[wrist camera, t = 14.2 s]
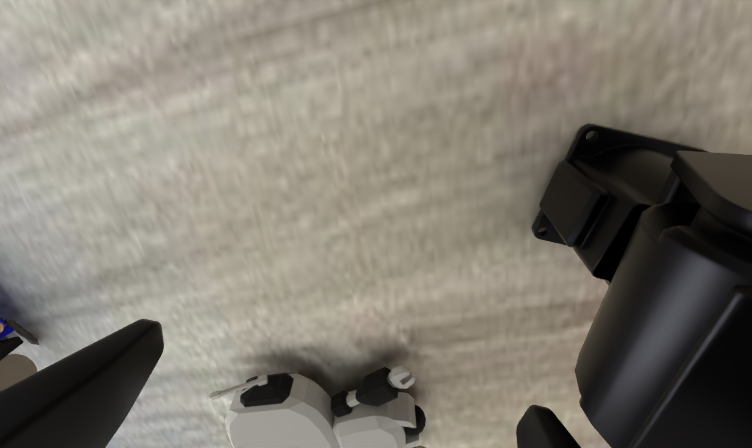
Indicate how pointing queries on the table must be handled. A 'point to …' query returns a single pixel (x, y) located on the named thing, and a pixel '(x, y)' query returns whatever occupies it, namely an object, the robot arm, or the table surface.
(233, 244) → the table surface
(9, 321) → the figurine character
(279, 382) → the robot toy
